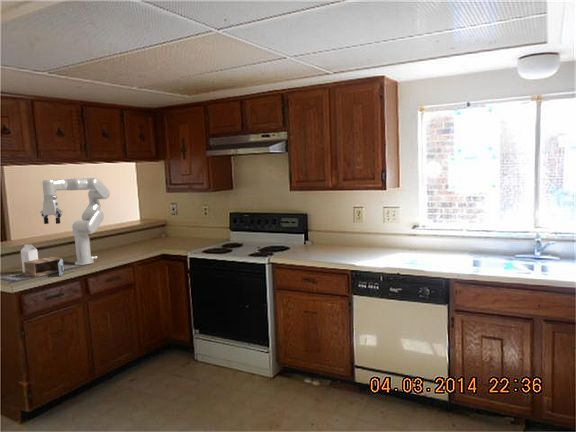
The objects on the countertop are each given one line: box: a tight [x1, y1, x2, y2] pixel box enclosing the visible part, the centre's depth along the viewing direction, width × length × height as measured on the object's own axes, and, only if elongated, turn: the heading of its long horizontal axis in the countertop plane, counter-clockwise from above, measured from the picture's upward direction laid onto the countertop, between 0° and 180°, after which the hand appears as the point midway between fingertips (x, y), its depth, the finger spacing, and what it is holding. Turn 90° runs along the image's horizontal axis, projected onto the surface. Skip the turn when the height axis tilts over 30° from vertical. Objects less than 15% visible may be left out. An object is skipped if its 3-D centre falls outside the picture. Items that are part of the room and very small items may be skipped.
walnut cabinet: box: [24, 256, 62, 278], centre depth 296 cm, size 18×12×9 cm, turn 148°
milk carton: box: [20, 243, 39, 274], centre depth 302 cm, size 7×7×19 cm
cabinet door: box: [58, 258, 65, 277], centre depth 291 cm, size 18×2×8 cm, turn 23°
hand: (52, 223), depth 299 cm, fingers open, 9 cm apart
